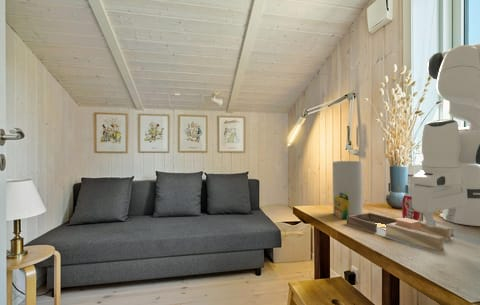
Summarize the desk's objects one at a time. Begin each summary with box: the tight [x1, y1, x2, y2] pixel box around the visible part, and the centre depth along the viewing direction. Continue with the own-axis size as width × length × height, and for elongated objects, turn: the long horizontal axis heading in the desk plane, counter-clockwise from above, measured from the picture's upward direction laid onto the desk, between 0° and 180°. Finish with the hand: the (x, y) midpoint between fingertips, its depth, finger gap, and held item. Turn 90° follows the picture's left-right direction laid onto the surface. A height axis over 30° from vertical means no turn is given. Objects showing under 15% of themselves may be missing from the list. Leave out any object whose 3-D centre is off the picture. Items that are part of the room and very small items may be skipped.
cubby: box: [346, 211, 397, 234], centre depth 98 cm, size 13×12×3 cm
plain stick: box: [420, 221, 452, 241], centre depth 87 cm, size 2×10×4 cm, turn 24°
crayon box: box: [333, 193, 349, 221], centre depth 111 cm, size 7×3×12 cm, turn 6°
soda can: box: [401, 193, 424, 222], centre depth 104 cm, size 7×7×12 cm
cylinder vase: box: [332, 160, 364, 216], centre depth 119 cm, size 12×12×25 cm
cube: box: [396, 217, 421, 231], centre depth 87 cm, size 5×5×5 cm
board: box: [346, 221, 457, 249], centre depth 92 cm, size 19×28×2 cm
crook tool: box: [386, 222, 445, 252], centre depth 82 cm, size 8×16×4 cm, turn 26°
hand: (441, 223), depth 74 cm, fingers open, 8 cm apart
